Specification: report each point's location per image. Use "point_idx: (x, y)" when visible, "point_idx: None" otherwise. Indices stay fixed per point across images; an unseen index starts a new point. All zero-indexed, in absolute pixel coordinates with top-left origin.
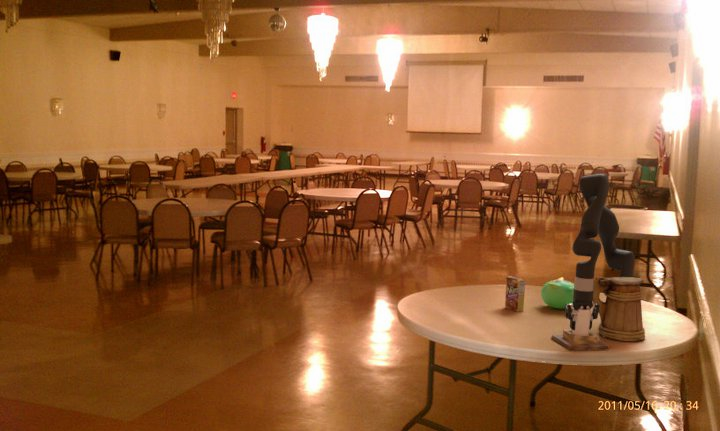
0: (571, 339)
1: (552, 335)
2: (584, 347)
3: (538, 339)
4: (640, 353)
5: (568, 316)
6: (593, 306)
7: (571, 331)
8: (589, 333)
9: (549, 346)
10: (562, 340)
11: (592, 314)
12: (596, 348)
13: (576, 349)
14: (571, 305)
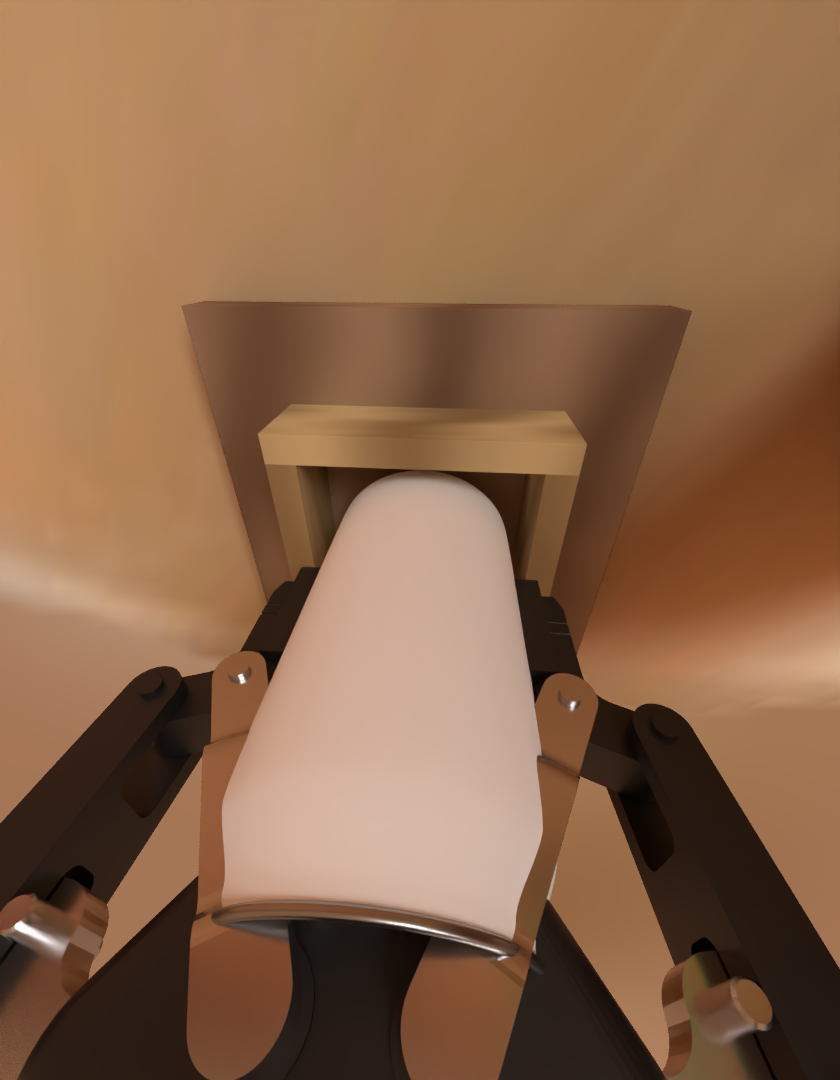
0: None
1: (188, 324)
2: None
3: (55, 326)
4: (726, 706)
5: (142, 770)
6: (669, 1075)
7: (367, 461)
8: (525, 575)
9: (152, 531)
10: (256, 511)
11: (644, 779)
12: None
13: None
14: (29, 1042)
